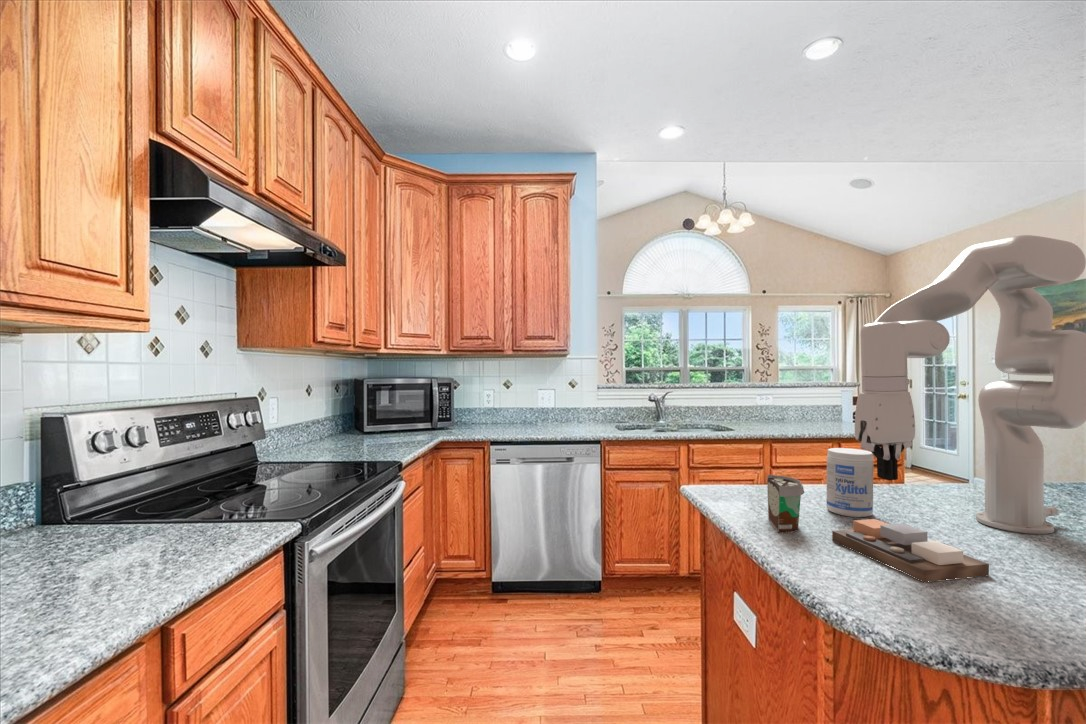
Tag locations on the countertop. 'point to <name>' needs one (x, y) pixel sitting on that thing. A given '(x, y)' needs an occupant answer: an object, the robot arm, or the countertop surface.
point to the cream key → (937, 552)
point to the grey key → (903, 533)
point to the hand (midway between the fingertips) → (887, 478)
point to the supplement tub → (850, 482)
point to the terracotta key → (869, 527)
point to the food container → (784, 502)
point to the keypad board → (908, 557)
